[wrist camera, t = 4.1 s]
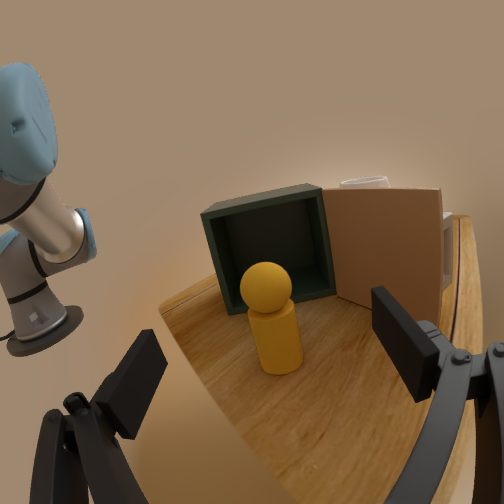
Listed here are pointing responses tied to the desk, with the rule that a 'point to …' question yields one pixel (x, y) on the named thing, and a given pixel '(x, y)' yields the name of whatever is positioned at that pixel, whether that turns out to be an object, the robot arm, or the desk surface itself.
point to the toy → (272, 317)
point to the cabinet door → (391, 246)
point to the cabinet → (272, 241)
